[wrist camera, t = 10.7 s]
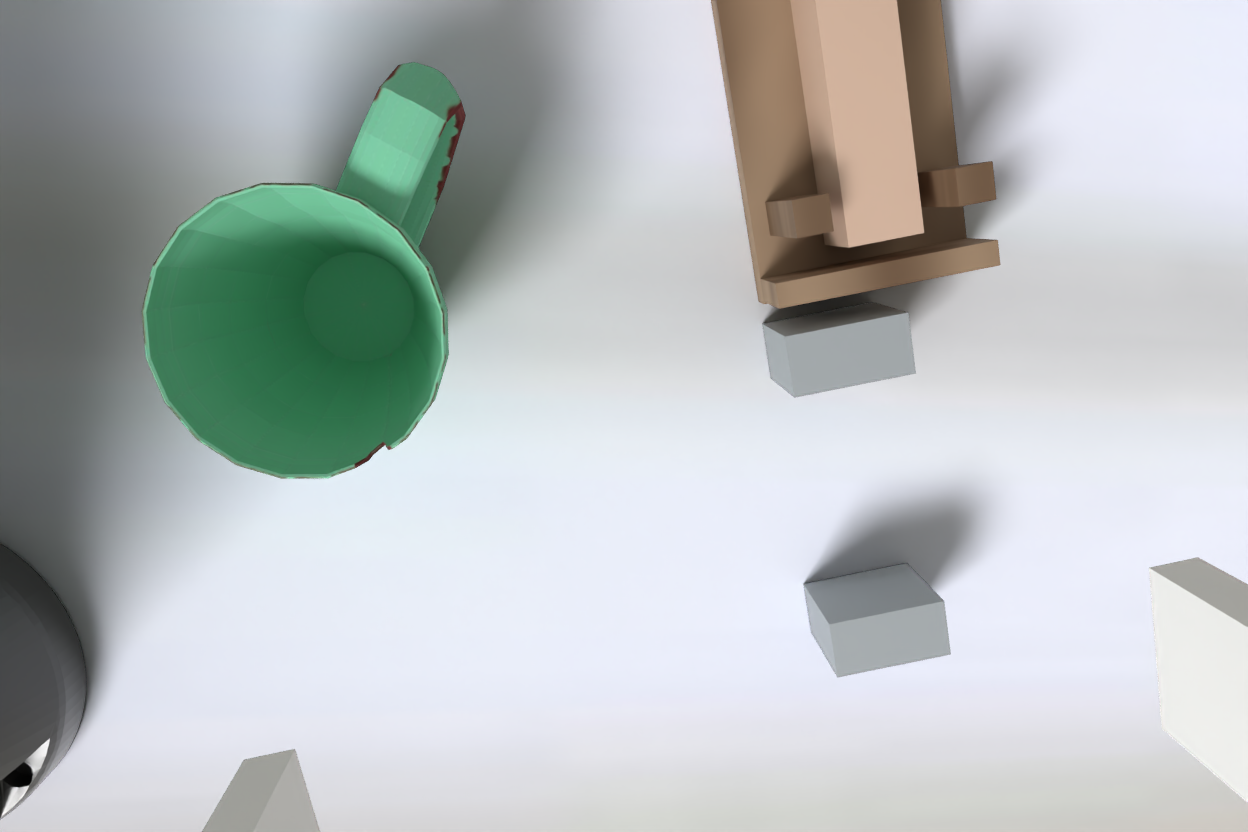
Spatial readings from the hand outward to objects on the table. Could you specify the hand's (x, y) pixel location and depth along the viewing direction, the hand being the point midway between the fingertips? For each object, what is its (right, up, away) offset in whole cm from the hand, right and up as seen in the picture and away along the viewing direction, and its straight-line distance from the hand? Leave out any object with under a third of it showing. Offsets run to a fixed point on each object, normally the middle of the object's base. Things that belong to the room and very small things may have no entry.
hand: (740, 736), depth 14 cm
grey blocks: (+8, +2, +29) cm, 30 cm away
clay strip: (+7, +19, +24) cm, 32 cm away
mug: (-12, +12, +26) cm, 31 cm away
